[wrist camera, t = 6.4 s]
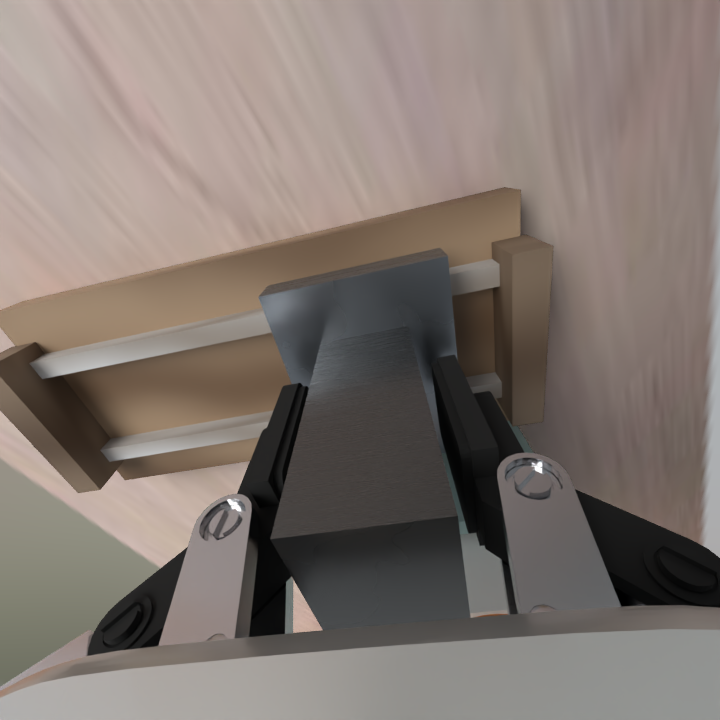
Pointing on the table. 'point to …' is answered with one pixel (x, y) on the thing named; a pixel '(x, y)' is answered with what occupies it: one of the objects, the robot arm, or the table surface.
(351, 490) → the carriage
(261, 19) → the table surface
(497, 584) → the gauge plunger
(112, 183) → the table surface
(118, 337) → the rail track
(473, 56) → the table surface
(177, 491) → the table surface
